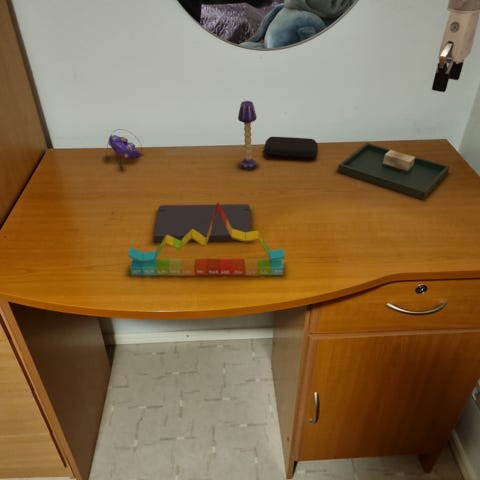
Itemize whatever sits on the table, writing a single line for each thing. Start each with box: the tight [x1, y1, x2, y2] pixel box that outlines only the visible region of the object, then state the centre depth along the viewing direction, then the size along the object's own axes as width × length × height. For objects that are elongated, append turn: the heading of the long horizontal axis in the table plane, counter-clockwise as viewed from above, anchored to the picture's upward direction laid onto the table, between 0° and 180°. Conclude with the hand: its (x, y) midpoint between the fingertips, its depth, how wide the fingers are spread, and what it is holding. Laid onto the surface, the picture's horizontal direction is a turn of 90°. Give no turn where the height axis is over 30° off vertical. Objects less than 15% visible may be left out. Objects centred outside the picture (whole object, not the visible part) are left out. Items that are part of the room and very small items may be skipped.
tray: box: [337, 142, 450, 201], centre depth 126 cm, size 24×17×2 cm
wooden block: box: [382, 149, 416, 174], centre depth 127 cm, size 7×4×4 cm, turn 53°
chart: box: [127, 201, 285, 276], centre depth 92 cm, size 30×3×15 cm, turn 90°
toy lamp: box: [237, 100, 258, 171], centre depth 124 cm, size 5×5×17 cm
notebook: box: [153, 203, 253, 243], centre depth 109 cm, size 13×2×21 cm
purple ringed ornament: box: [105, 128, 143, 170], centre depth 131 cm, size 10×8×10 cm
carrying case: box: [263, 136, 319, 161], centre depth 135 cm, size 11×3×15 cm
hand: (445, 84), depth 117 cm, fingers open, 9 cm apart
